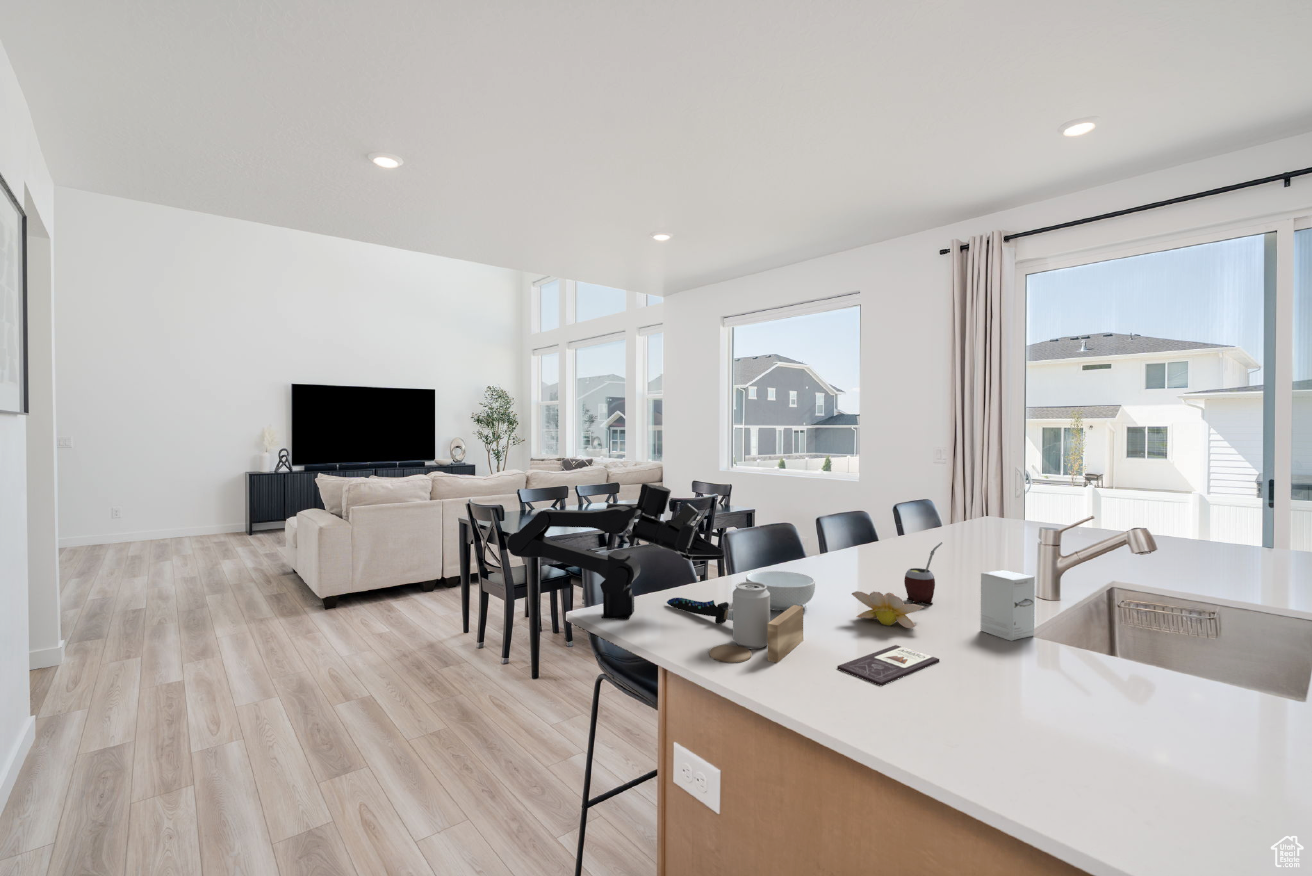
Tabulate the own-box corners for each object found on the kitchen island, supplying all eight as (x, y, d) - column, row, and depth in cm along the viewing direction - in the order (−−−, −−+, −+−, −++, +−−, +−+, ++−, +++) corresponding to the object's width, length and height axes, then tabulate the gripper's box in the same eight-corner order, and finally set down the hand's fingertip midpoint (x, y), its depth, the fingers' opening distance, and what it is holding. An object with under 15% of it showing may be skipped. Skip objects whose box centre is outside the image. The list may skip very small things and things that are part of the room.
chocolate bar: (837, 665, 108) (895, 644, 119) (837, 671, 108) (895, 649, 119) (881, 682, 101) (939, 658, 111) (881, 688, 101) (939, 663, 111)
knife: (766, 629, 126) (764, 608, 126) (756, 632, 124) (754, 610, 124) (675, 611, 150) (674, 593, 150) (666, 613, 148) (665, 595, 149)
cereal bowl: (823, 616, 139) (823, 586, 139) (751, 616, 139) (751, 586, 139) (805, 596, 156) (805, 569, 156) (741, 596, 156) (741, 569, 156)
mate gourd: (899, 602, 150) (899, 542, 150) (913, 596, 155) (913, 538, 155) (929, 608, 144) (929, 546, 144) (943, 602, 150) (943, 542, 150)
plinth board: (767, 660, 112) (767, 623, 112) (793, 638, 124) (793, 604, 124) (777, 662, 111) (777, 625, 111) (803, 640, 123) (803, 606, 123)
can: (773, 639, 124) (773, 581, 123) (766, 652, 117) (765, 591, 116) (738, 634, 126) (737, 578, 126) (728, 647, 119) (728, 587, 119)
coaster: (708, 661, 112) (708, 658, 112) (711, 646, 120) (710, 643, 120) (751, 663, 111) (751, 661, 111) (751, 648, 119) (751, 645, 119)
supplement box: (1012, 641, 122) (1012, 579, 121) (979, 630, 128) (979, 572, 128) (1035, 636, 125) (1036, 576, 124) (1002, 625, 131) (1002, 568, 131)
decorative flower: (938, 614, 134) (931, 573, 132) (922, 640, 125) (915, 595, 124) (871, 607, 144) (864, 568, 142) (853, 630, 135) (846, 588, 134)
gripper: (665, 492, 131) (734, 514, 128) (673, 507, 149) (734, 527, 145) (648, 540, 128) (718, 564, 125) (659, 550, 146) (720, 571, 143)
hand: (723, 555), depth 135 cm, fingers open, 9 cm apart
